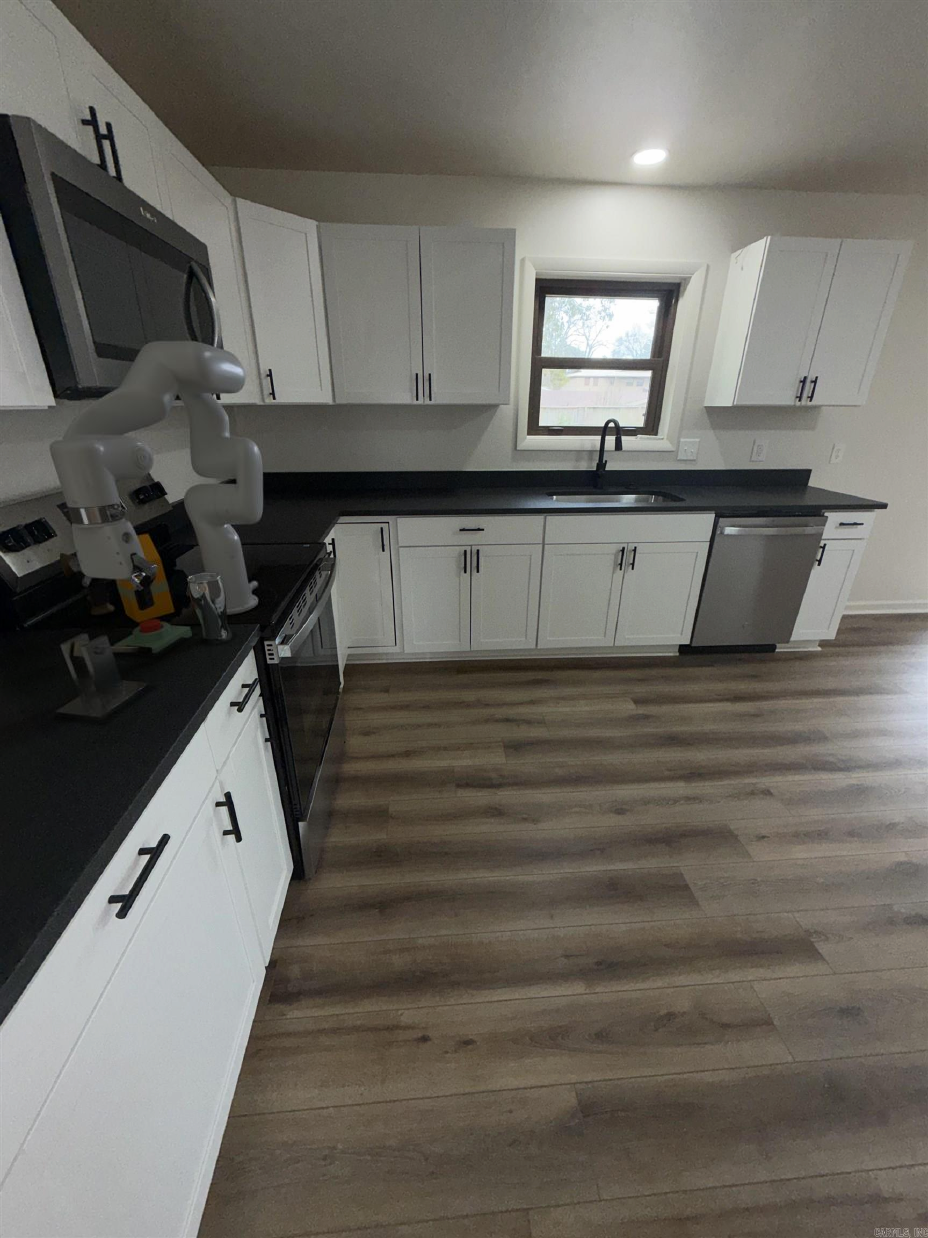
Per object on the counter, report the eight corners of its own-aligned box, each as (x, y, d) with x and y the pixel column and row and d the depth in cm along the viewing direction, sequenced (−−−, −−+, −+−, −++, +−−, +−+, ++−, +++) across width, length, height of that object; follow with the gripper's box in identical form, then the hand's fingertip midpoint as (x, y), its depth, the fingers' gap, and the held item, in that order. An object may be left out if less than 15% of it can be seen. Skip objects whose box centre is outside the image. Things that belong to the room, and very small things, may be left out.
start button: (150, 625, 112) (148, 618, 111) (166, 626, 111) (164, 619, 110) (136, 633, 108) (134, 625, 107) (153, 634, 107) (151, 627, 107)
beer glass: (221, 646, 110) (207, 583, 104) (194, 644, 111) (178, 581, 105) (240, 633, 116) (228, 572, 110) (214, 630, 117) (200, 570, 111)
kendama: (80, 613, 127) (53, 537, 118) (125, 605, 132) (102, 531, 123) (80, 621, 122) (52, 542, 114) (126, 612, 127) (102, 536, 119)
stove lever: (129, 654, 97) (130, 642, 97) (151, 656, 96) (153, 644, 97) (66, 655, 84) (67, 640, 85) (91, 657, 84) (93, 643, 84)
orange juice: (175, 611, 127) (155, 535, 119) (137, 623, 121) (113, 543, 113) (162, 604, 132) (142, 530, 124) (125, 614, 126) (101, 537, 118)
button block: (154, 632, 117) (149, 616, 115) (192, 635, 115) (188, 619, 113) (116, 654, 107) (111, 637, 105) (157, 657, 105) (152, 641, 104)
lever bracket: (109, 684, 96) (88, 624, 90) (150, 688, 94) (131, 628, 89) (57, 717, 86) (30, 652, 80) (102, 723, 84) (78, 657, 79)
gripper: (157, 512, 88) (179, 602, 94) (74, 508, 90) (101, 596, 97) (123, 521, 81) (150, 617, 88) (34, 517, 84) (67, 610, 91)
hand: (124, 606), depth 92 cm, fingers open, 9 cm apart
